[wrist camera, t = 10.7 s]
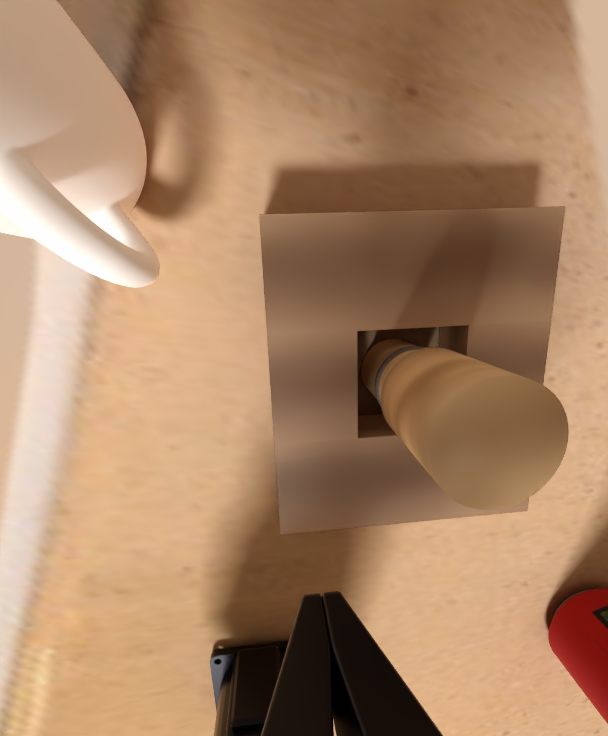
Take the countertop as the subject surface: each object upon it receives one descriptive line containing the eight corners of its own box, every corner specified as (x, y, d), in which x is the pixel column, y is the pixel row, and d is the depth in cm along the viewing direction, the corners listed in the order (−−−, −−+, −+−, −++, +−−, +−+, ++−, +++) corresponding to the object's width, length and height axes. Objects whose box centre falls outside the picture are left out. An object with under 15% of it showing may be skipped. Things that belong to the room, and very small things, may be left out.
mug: (240, 232, 18) (201, 168, 8) (122, 335, 19) (-49, 395, 9) (53, 2, 15) (-363, -536, 5) (-77, 134, 16) (-670, -122, 6)
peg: (426, 402, 21) (558, 503, 11) (354, 407, 21) (427, 516, 11) (429, 329, 20) (578, 372, 10) (354, 333, 20) (434, 381, 10)
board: (494, 482, 23) (527, 511, 20) (279, 501, 22) (280, 534, 19) (520, 218, 19) (565, 206, 16) (261, 225, 18) (259, 214, 15)
